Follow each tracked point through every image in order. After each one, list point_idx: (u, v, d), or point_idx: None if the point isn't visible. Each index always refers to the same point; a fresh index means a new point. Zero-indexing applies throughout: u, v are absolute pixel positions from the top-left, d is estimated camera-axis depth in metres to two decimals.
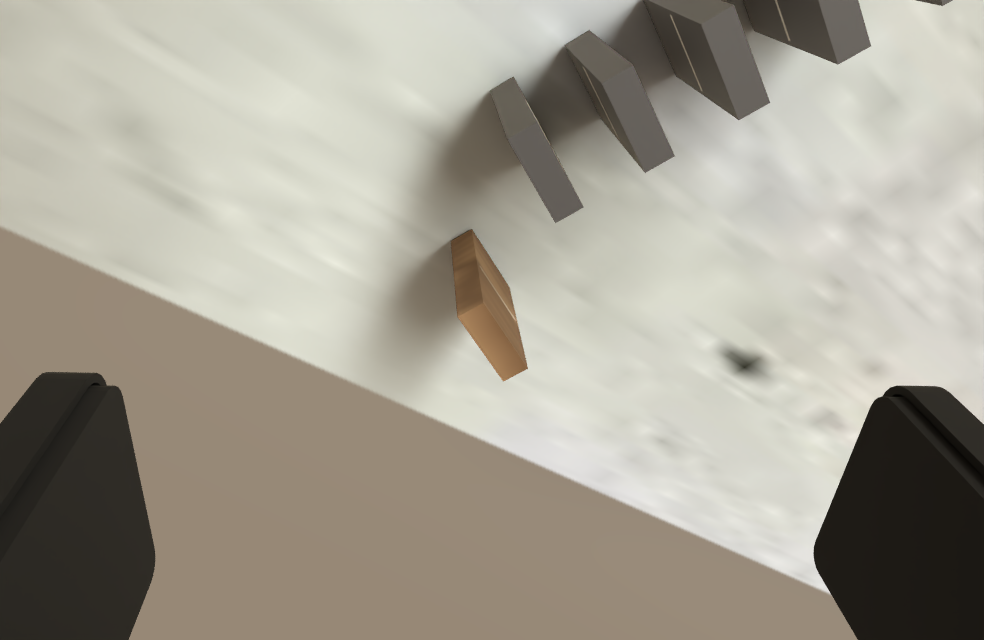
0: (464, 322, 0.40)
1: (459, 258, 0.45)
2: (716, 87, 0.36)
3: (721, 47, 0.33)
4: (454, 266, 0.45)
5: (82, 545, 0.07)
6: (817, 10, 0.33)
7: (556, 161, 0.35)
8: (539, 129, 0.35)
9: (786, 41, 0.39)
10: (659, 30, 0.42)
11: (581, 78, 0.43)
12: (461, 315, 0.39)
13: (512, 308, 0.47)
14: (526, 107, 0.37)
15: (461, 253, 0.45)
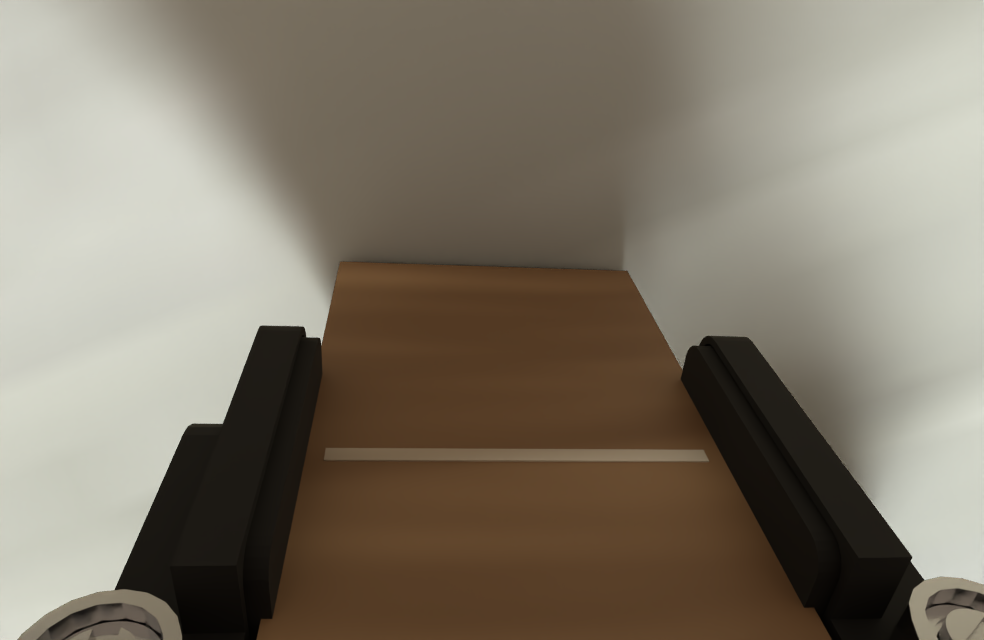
0: None
1: None
2: None
3: None
4: None
5: None
6: None
7: None
8: None
9: None
10: None
11: None
12: None
13: None
14: None
15: None
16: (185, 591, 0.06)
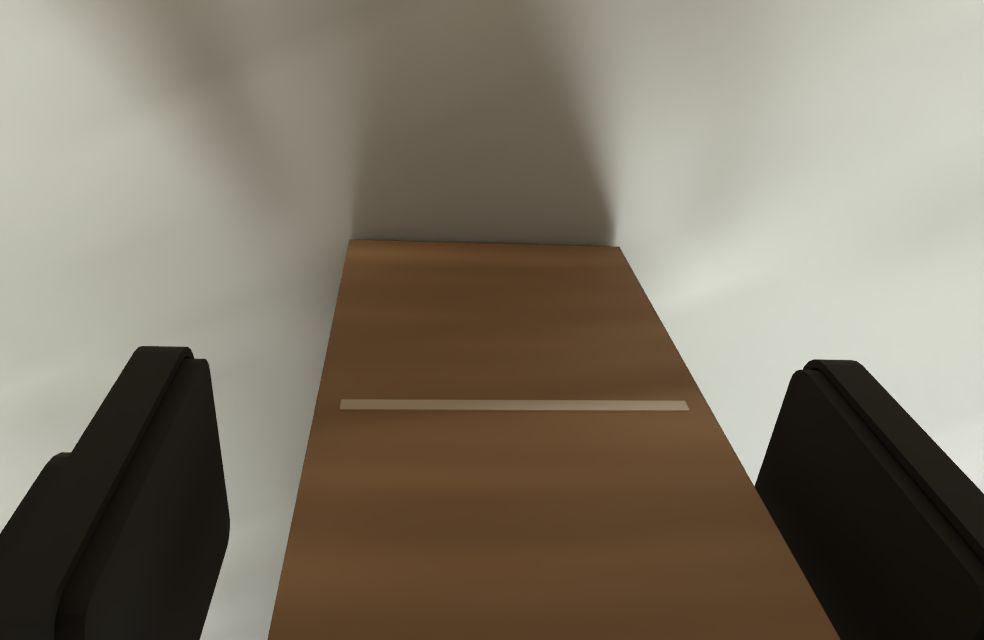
0: None
1: None
2: None
3: None
4: None
5: (182, 504, 0.08)
6: None
7: None
8: None
9: None
10: None
11: None
12: None
13: None
14: None
15: None
16: None
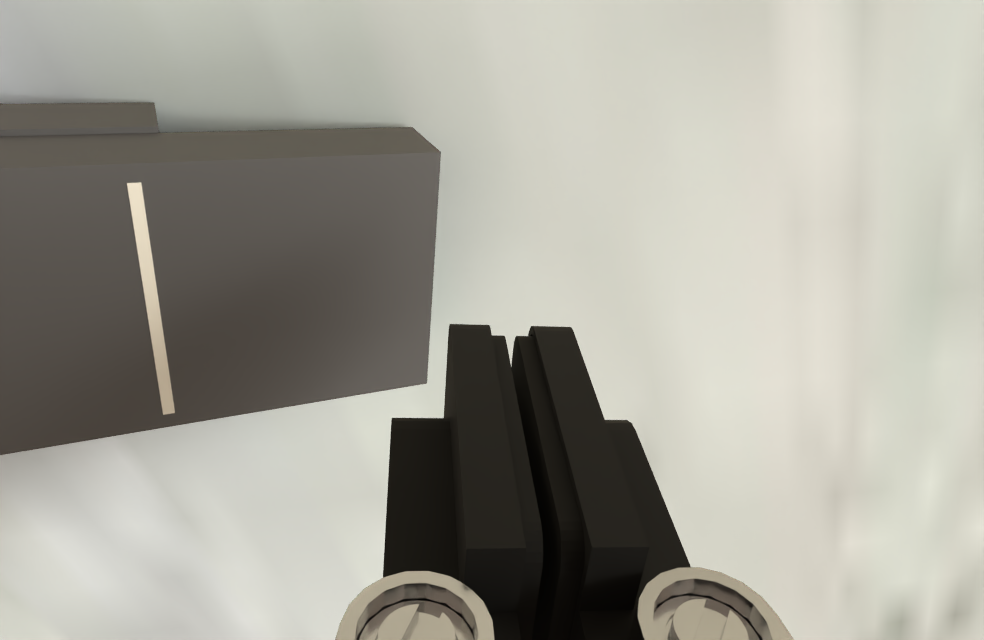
0: None
1: None
2: None
3: None
4: None
5: None
6: None
7: None
8: None
9: None
10: None
11: None
12: None
13: None
14: None
15: None
16: (474, 573, 0.06)
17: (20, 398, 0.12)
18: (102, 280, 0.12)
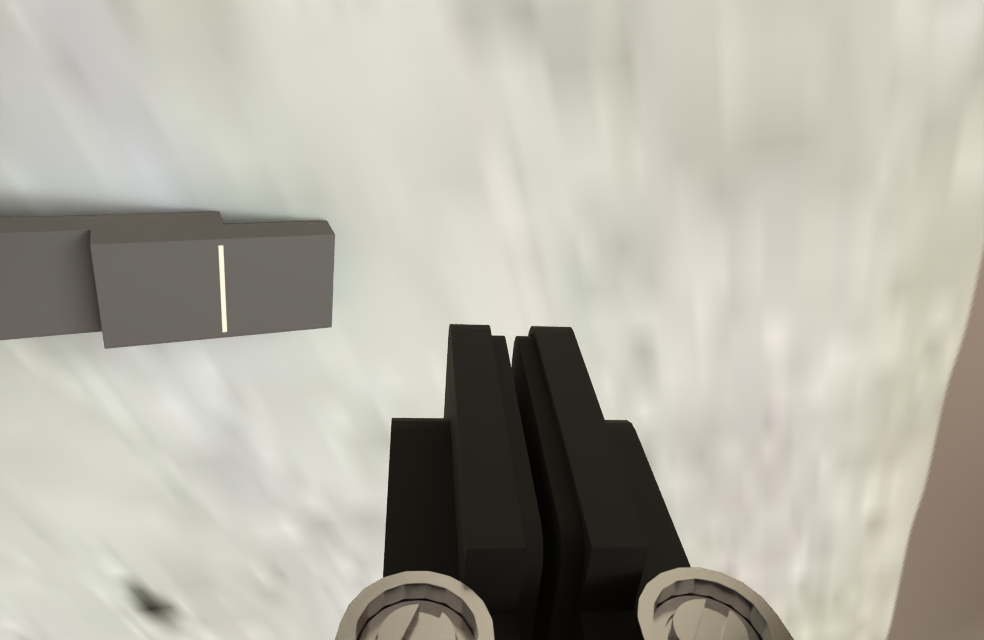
0: None
1: None
2: None
3: None
4: None
5: None
6: None
7: None
8: None
9: None
10: None
11: None
12: None
13: None
14: None
15: None
16: (474, 573, 0.06)
17: (172, 321, 0.33)
18: (206, 279, 0.33)
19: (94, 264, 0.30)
